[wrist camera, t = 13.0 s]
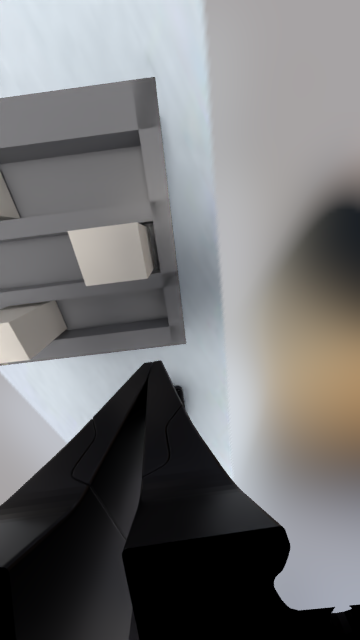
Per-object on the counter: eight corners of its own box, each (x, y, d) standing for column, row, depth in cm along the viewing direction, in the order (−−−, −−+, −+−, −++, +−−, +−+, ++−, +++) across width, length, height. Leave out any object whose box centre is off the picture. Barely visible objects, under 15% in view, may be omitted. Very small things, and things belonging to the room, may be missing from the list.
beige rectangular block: (155, 267, 16) (147, 278, 11) (111, 272, 16) (86, 286, 11) (148, 227, 15) (136, 222, 10) (101, 233, 15) (67, 231, 10)
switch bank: (184, 327, 21) (186, 344, 17) (16, 347, 21) (-13, 368, 18) (159, 115, 13) (154, 73, 10) (-100, 150, 14) (-190, 121, 10)
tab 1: (67, 328, 18) (30, 359, 14) (29, 332, 18) (-22, 366, 14) (54, 299, 17) (8, 322, 12) (14, 303, 17) (-49, 329, 12)
